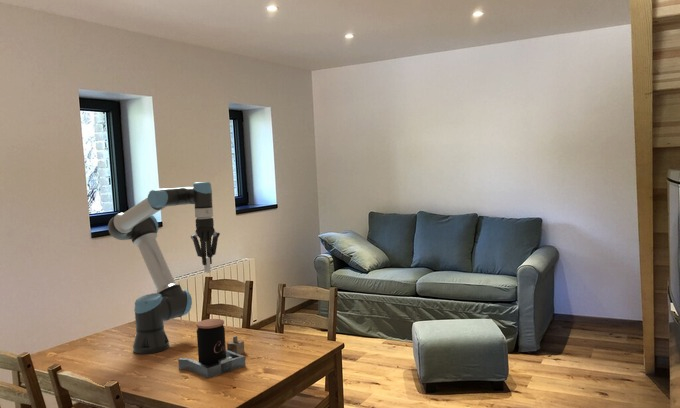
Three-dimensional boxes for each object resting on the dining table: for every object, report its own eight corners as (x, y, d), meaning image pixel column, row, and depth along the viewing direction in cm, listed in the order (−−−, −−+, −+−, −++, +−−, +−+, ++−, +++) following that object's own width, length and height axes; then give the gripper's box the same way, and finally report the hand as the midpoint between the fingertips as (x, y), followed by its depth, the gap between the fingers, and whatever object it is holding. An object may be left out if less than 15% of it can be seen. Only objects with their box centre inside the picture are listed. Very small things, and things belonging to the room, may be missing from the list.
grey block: (227, 355, 237) (226, 337, 237) (234, 351, 242) (233, 334, 241) (237, 356, 235) (236, 338, 235) (244, 352, 240) (243, 335, 239)
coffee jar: (218, 373, 216) (215, 326, 215) (193, 371, 220) (190, 325, 218) (231, 363, 227) (229, 319, 225) (208, 361, 230) (205, 318, 229)
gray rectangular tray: (178, 368, 223) (177, 355, 222) (222, 355, 237) (222, 342, 237) (203, 380, 209) (202, 366, 209) (249, 364, 224) (248, 352, 224)
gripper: (194, 219, 236) (197, 275, 238) (222, 216, 245) (225, 270, 246) (186, 219, 242) (189, 273, 243) (213, 216, 250) (216, 269, 252)
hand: (207, 272), depth 245 cm, fingers closed
